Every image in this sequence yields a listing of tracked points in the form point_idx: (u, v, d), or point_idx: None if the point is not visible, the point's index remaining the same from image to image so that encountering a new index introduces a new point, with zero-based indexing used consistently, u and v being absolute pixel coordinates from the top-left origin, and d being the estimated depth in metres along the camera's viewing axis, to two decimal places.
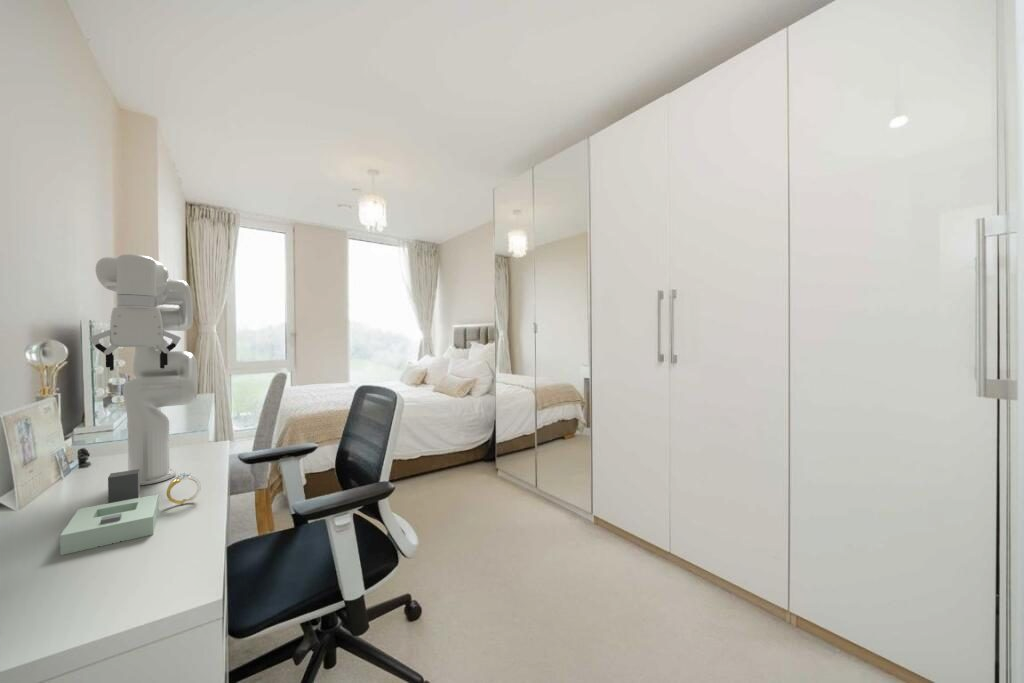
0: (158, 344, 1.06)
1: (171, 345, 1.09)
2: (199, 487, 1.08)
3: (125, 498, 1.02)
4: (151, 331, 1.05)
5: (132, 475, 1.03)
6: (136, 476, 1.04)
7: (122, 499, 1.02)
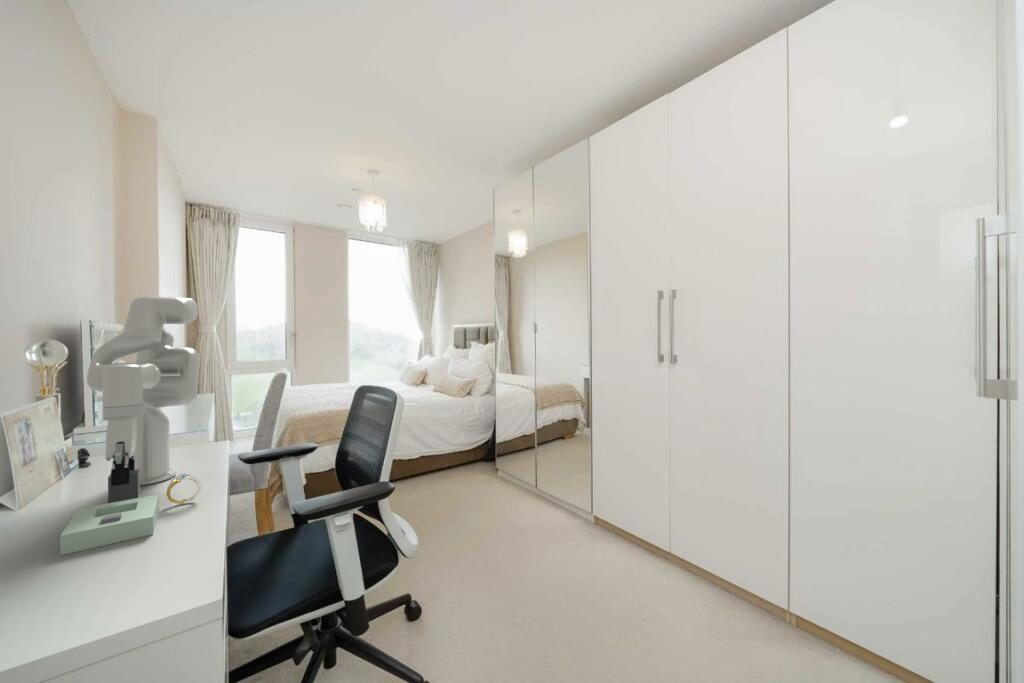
0: None
1: None
2: (199, 487, 1.08)
3: (125, 498, 1.02)
4: None
5: (132, 475, 1.03)
6: (136, 476, 1.04)
7: (122, 499, 1.02)
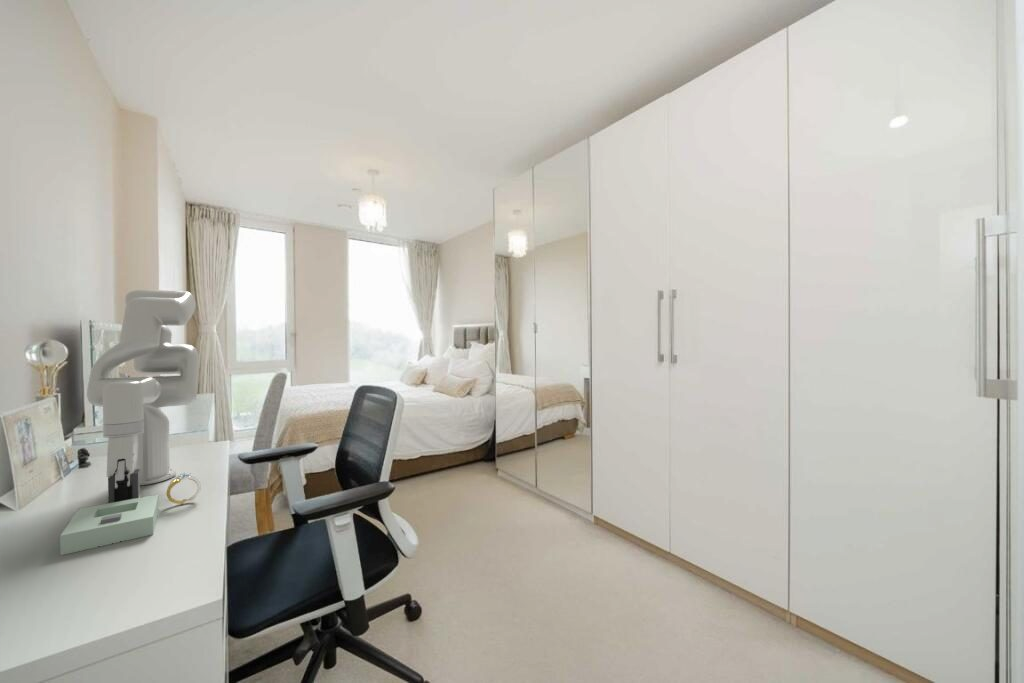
0: None
1: None
2: (199, 487, 1.08)
3: None
4: None
5: (132, 475, 1.03)
6: (136, 476, 1.04)
7: None
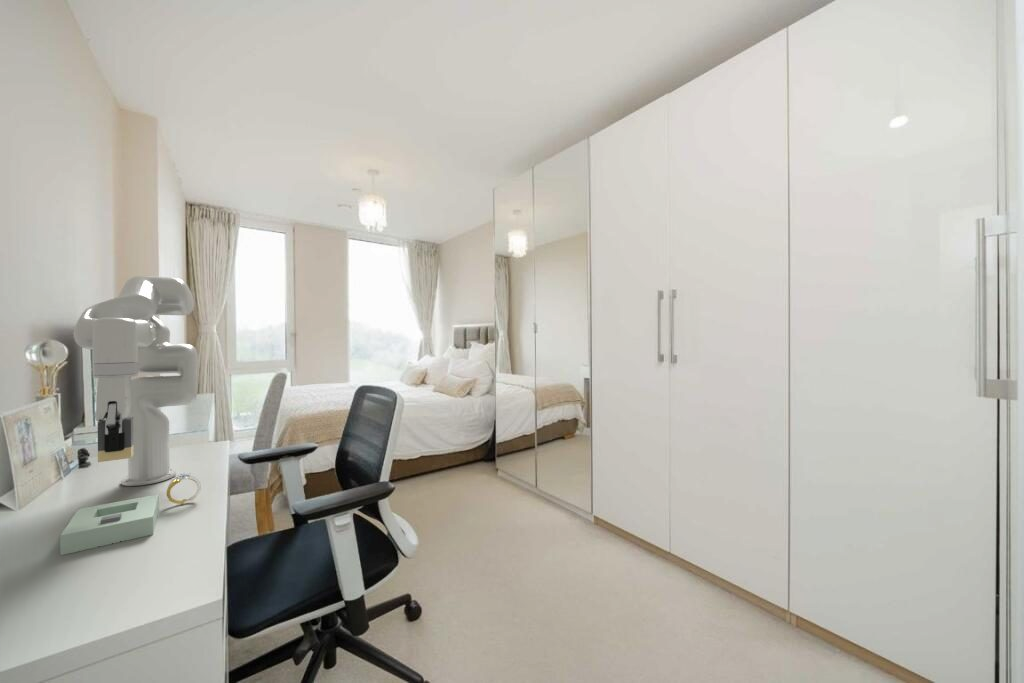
0: None
1: None
2: (199, 487, 1.08)
3: None
4: None
5: (124, 421, 0.94)
6: (129, 423, 0.94)
7: None
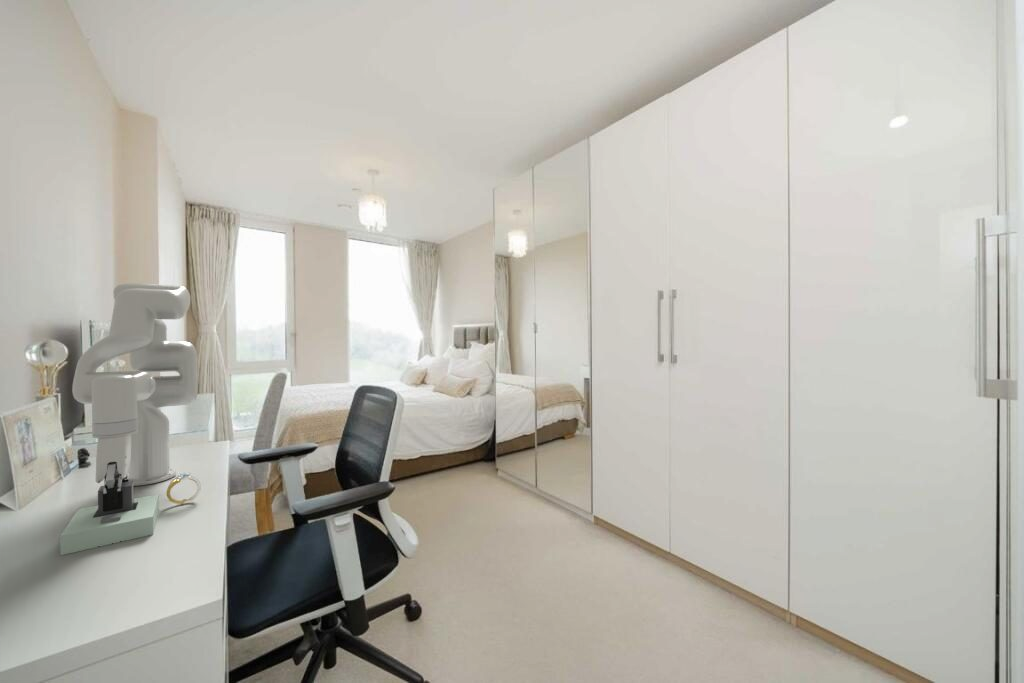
0: None
1: None
2: (199, 487, 1.08)
3: None
4: None
5: (125, 488, 0.93)
6: (129, 489, 0.93)
7: None
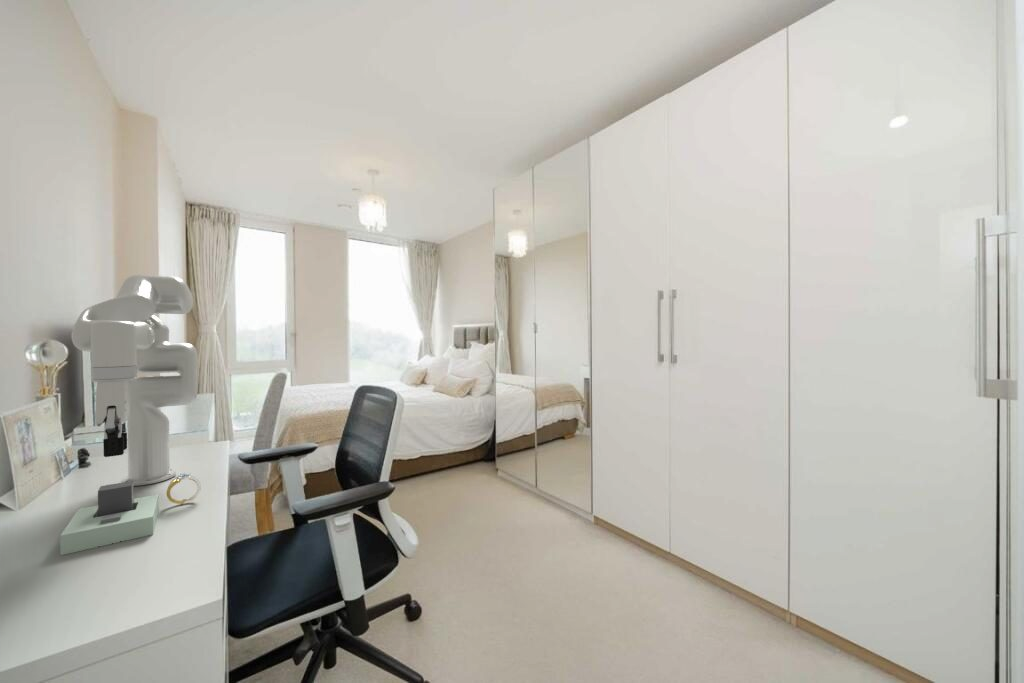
0: None
1: None
2: (199, 487, 1.08)
3: None
4: (130, 403, 0.97)
5: (125, 488, 0.93)
6: (129, 489, 0.93)
7: None
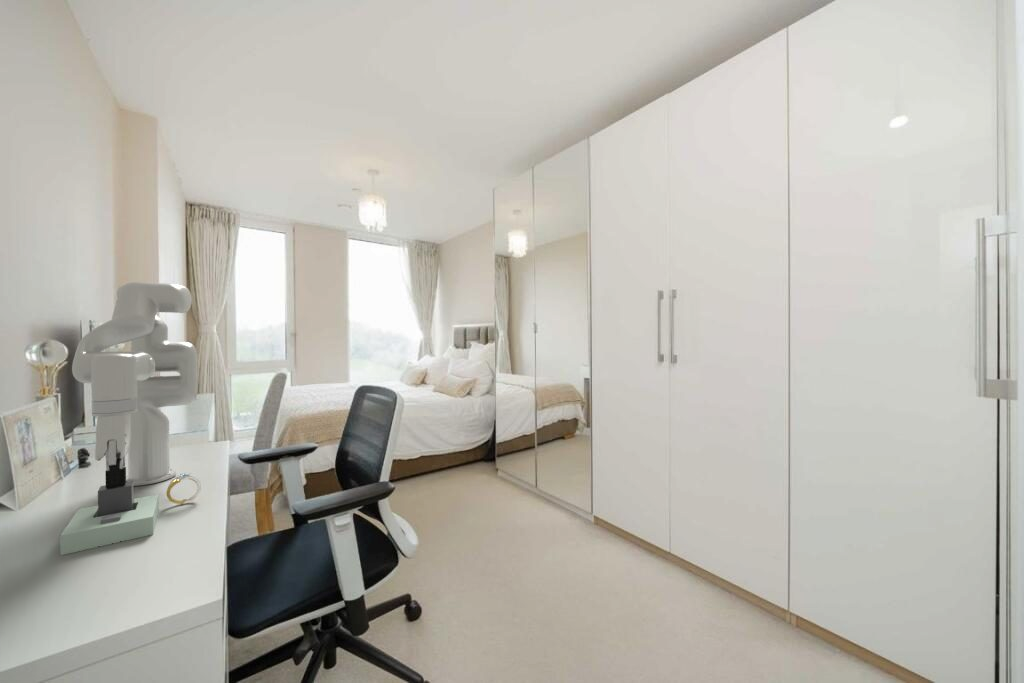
0: None
1: None
2: (199, 487, 1.08)
3: None
4: None
5: (125, 488, 0.93)
6: (129, 489, 0.93)
7: None
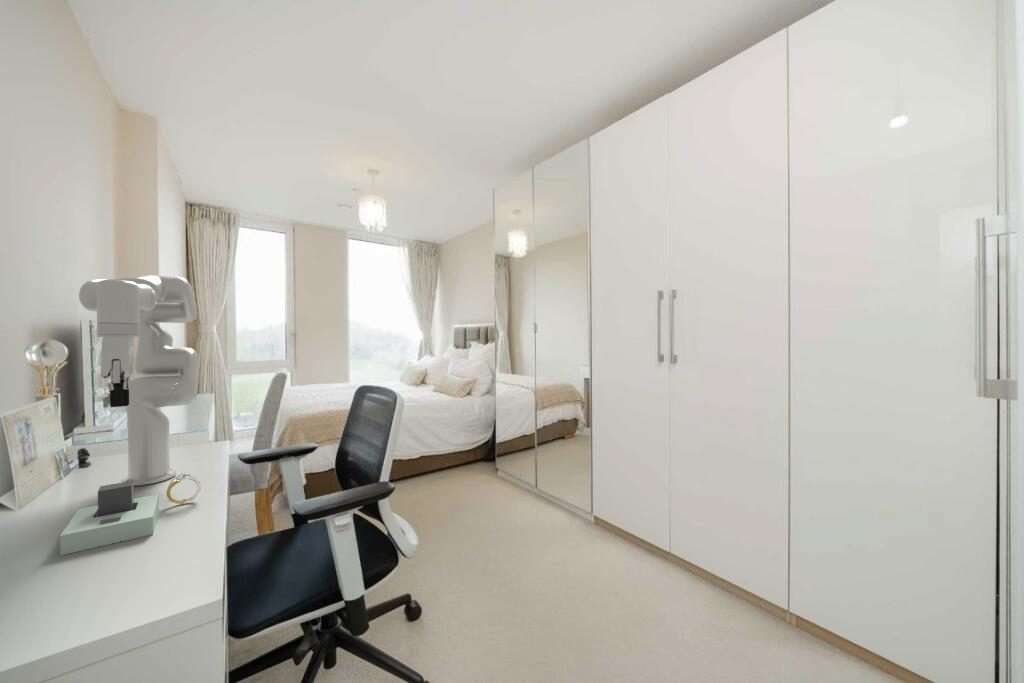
0: None
1: None
2: (199, 487, 1.08)
3: None
4: (133, 360, 1.02)
5: (125, 488, 0.93)
6: (129, 489, 0.93)
7: None
